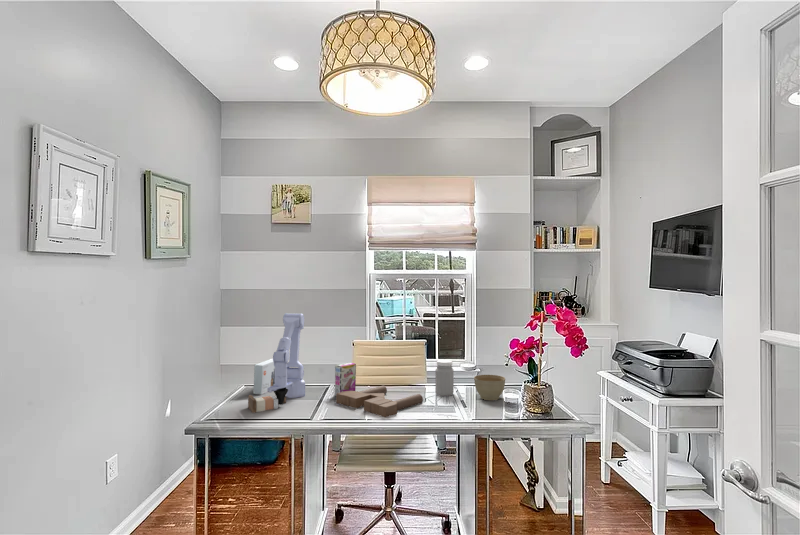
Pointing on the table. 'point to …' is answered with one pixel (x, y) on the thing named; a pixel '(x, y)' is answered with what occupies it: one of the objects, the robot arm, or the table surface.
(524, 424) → the table surface
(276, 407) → the grey rectangular block
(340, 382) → the candy bar box
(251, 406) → the wooden shelf
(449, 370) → the jar
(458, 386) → the table surface
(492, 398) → the planter bowl
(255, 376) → the skincare box
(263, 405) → the cream book
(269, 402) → the salmon orange block
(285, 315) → the robot arm
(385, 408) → the bookends
